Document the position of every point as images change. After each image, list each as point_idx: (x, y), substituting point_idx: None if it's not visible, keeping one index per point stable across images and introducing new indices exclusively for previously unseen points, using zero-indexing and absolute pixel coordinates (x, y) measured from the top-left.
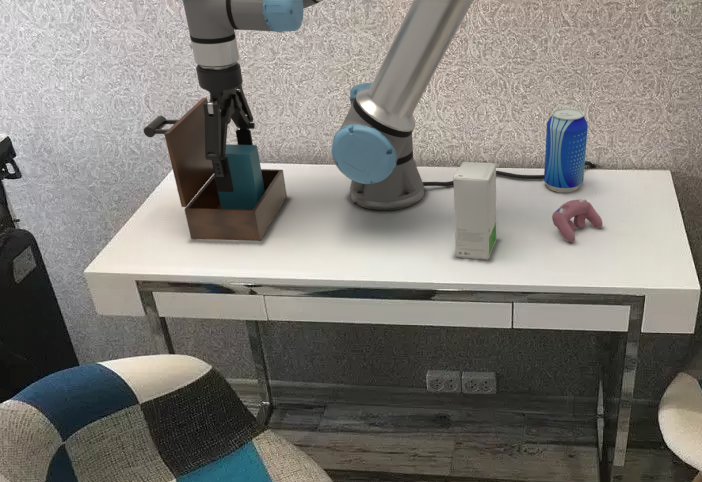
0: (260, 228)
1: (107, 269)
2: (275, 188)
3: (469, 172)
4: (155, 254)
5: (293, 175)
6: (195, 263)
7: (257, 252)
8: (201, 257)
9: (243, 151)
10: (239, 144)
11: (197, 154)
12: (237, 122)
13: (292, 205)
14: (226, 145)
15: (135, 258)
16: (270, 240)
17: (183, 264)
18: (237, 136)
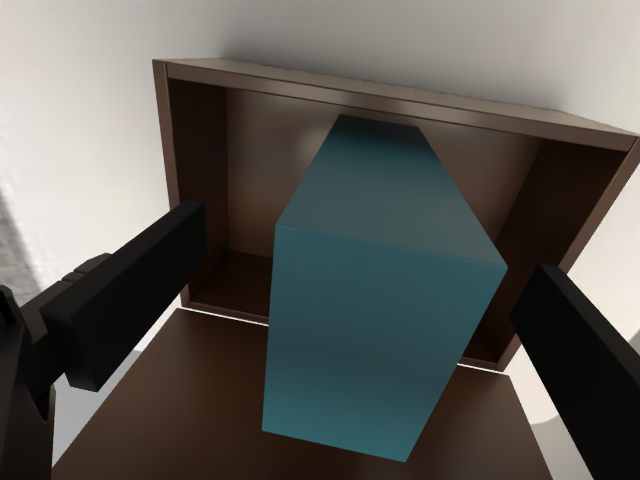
0: (563, 115)
1: (551, 415)
2: (311, 80)
3: None
4: (516, 355)
5: (33, 63)
6: (613, 279)
7: (632, 113)
8: (581, 269)
9: (416, 314)
10: (157, 312)
11: (321, 458)
12: (39, 456)
13: (267, 28)
14: (282, 401)
15: (520, 382)
16: (550, 77)
17: (603, 303)
18: (124, 353)
